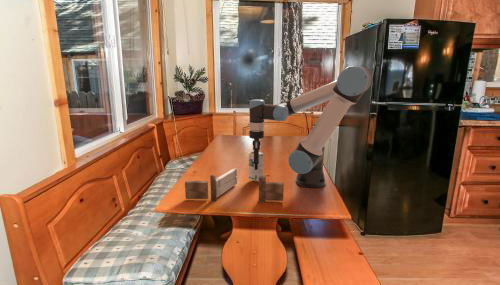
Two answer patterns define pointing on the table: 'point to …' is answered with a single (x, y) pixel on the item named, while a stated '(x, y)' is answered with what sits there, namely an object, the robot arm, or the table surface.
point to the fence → (200, 189)
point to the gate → (226, 181)
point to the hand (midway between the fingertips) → (256, 172)
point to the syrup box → (251, 159)
